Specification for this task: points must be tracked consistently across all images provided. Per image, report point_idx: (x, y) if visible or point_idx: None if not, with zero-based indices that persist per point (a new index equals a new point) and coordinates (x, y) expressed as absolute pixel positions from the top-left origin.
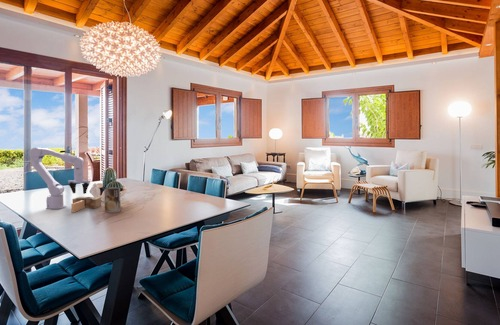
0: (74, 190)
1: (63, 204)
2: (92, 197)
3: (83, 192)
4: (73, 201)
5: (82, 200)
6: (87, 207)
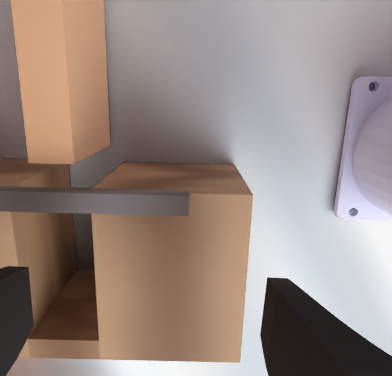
0: (282, 360)
1: (368, 190)
2: None
3: (3, 274)
4: (230, 183)
5: (41, 131)
6: None
